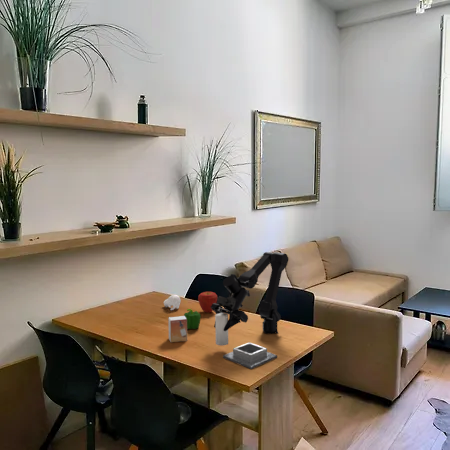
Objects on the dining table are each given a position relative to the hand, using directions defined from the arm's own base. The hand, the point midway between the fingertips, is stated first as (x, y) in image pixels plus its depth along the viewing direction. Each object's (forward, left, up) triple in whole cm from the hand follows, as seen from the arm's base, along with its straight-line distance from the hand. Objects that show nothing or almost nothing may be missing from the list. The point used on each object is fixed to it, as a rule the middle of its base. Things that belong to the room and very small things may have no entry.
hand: (219, 329), depth 189 cm
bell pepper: (+11, -32, -10) cm, 36 cm away
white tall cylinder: (-1, -1, -7) cm, 7 cm away
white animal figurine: (+23, -68, -10) cm, 73 cm away
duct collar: (-12, +8, -10) cm, 18 cm away
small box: (+18, -16, -10) cm, 27 cm away
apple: (+2, -58, -10) cm, 59 cm away
